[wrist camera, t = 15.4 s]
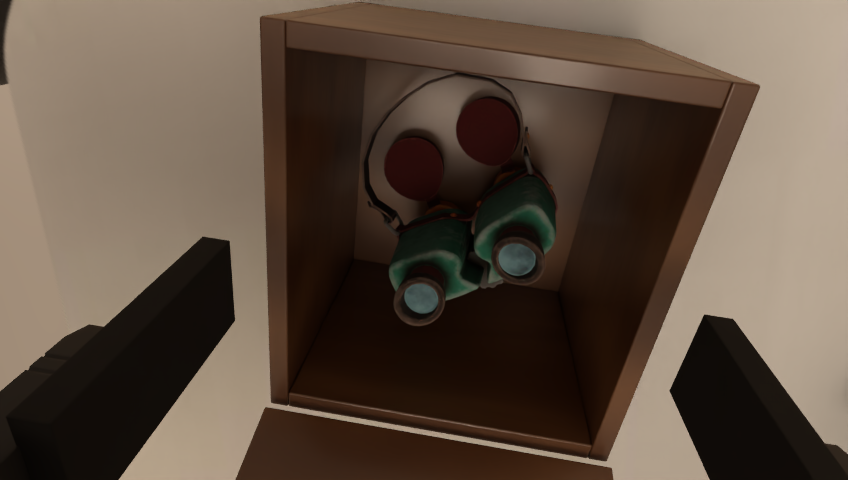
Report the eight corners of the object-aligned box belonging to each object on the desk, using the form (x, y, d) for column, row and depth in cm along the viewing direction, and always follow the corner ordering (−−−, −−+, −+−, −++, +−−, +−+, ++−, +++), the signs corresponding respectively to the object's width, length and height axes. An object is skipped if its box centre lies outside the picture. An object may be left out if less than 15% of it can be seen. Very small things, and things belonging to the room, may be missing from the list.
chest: (357, 1, 26) (258, 15, 15) (641, 40, 26) (762, 85, 14) (344, 261, 34) (270, 403, 22) (566, 296, 33) (606, 462, 22)
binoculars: (482, 48, 17) (598, 296, 19) (493, 45, 27) (569, 210, 29) (272, 166, 20) (397, 369, 22) (351, 124, 29) (432, 268, 32)
